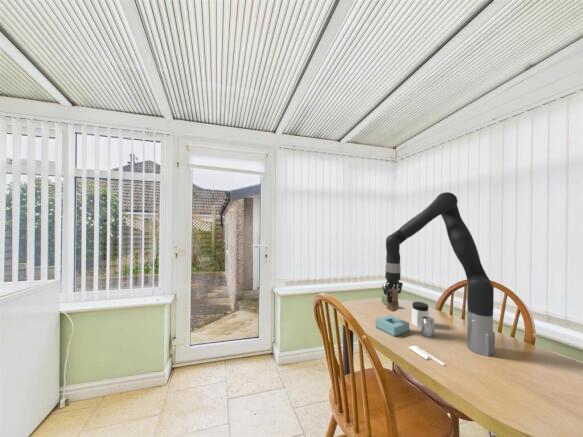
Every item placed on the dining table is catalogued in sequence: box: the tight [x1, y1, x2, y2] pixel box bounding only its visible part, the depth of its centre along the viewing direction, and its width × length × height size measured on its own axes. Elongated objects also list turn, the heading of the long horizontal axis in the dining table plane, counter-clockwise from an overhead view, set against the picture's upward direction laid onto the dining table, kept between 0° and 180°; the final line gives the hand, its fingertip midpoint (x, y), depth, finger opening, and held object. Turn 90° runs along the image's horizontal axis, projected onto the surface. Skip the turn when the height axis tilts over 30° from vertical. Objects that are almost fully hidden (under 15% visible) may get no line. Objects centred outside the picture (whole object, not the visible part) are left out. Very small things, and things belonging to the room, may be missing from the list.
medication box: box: [381, 296, 400, 308], centre depth 168 cm, size 12×3×4 cm, turn 32°
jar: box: [411, 301, 430, 328], centre depth 136 cm, size 9×8×12 cm
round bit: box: [420, 316, 435, 339], centre depth 123 cm, size 6×6×9 cm
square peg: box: [386, 288, 399, 313], centre depth 129 cm, size 4×4×12 cm
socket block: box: [375, 314, 410, 338], centre depth 129 cm, size 12×12×5 cm
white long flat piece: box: [408, 345, 447, 367], centre depth 103 cm, size 5×15×1 cm, turn 17°
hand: (392, 301), depth 129 cm, fingers closed on square peg, 4 cm apart
